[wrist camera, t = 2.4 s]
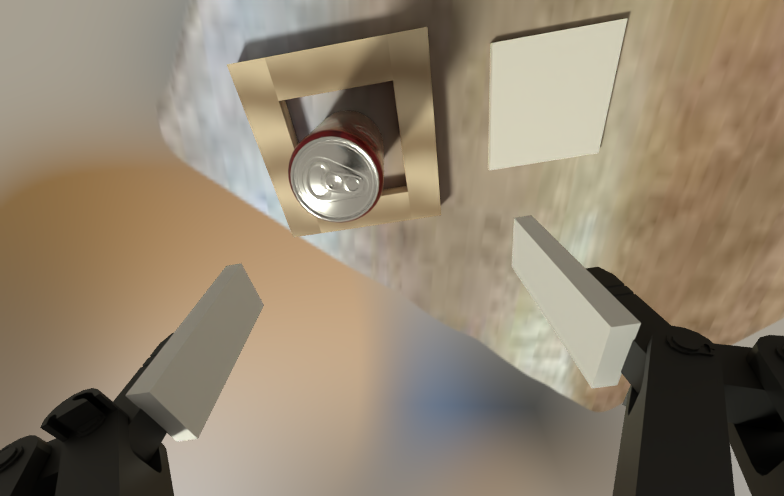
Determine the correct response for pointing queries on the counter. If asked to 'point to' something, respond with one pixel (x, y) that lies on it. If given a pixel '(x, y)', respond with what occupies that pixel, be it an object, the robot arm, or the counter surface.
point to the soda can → (339, 168)
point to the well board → (337, 72)
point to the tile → (551, 93)
